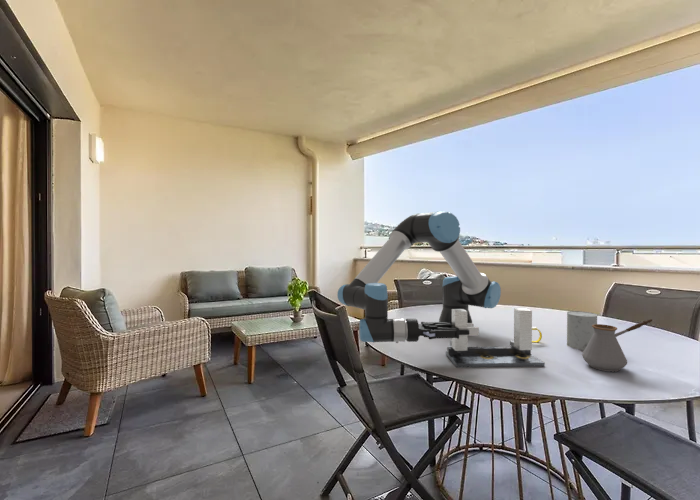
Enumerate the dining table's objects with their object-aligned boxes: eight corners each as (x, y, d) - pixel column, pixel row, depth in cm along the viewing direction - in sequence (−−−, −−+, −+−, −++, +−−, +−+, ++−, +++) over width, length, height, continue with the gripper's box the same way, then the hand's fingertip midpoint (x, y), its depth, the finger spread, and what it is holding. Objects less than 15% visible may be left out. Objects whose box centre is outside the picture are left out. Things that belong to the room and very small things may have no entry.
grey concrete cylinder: (564, 346, 130) (564, 314, 130) (569, 341, 137) (569, 310, 137) (594, 352, 124) (595, 317, 123) (599, 346, 131) (599, 313, 130)
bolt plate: (446, 354, 123) (445, 345, 122) (525, 353, 123) (525, 344, 122) (456, 367, 111) (456, 357, 110) (544, 366, 111) (544, 356, 110)
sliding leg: (448, 349, 123) (448, 306, 122) (459, 349, 123) (459, 306, 122) (455, 357, 115) (455, 311, 114) (467, 357, 115) (467, 311, 114)
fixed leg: (508, 349, 123) (508, 306, 122) (519, 348, 123) (520, 306, 122) (519, 356, 115) (519, 310, 114) (531, 356, 114) (532, 310, 114)
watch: (526, 343, 136) (525, 328, 135) (524, 341, 138) (523, 326, 138) (543, 343, 135) (542, 327, 135) (540, 340, 138) (539, 326, 137)
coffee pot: (599, 374, 104) (599, 324, 103) (573, 361, 115) (574, 316, 115) (670, 373, 104) (671, 323, 103) (638, 360, 115) (638, 315, 115)
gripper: (401, 334, 125) (467, 333, 125) (410, 349, 108) (485, 348, 108) (401, 313, 125) (467, 312, 125) (409, 325, 108) (485, 324, 108)
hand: (475, 329), depth 116 cm, fingers closed on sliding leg, 4 cm apart
